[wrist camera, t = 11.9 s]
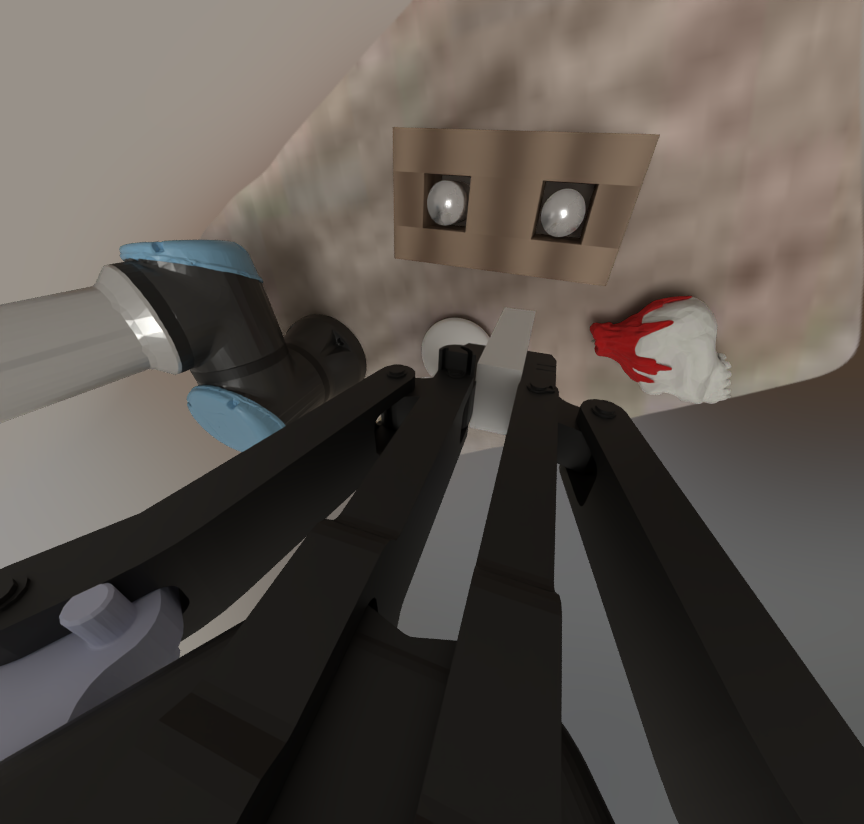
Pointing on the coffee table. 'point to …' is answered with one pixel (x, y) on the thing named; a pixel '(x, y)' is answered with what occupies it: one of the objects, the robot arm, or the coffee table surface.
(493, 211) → the walnut block
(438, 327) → the flower in vase
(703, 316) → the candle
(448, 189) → the steel peg
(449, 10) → the coffee table surface
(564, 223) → the steel peg
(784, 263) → the coffee table surface
